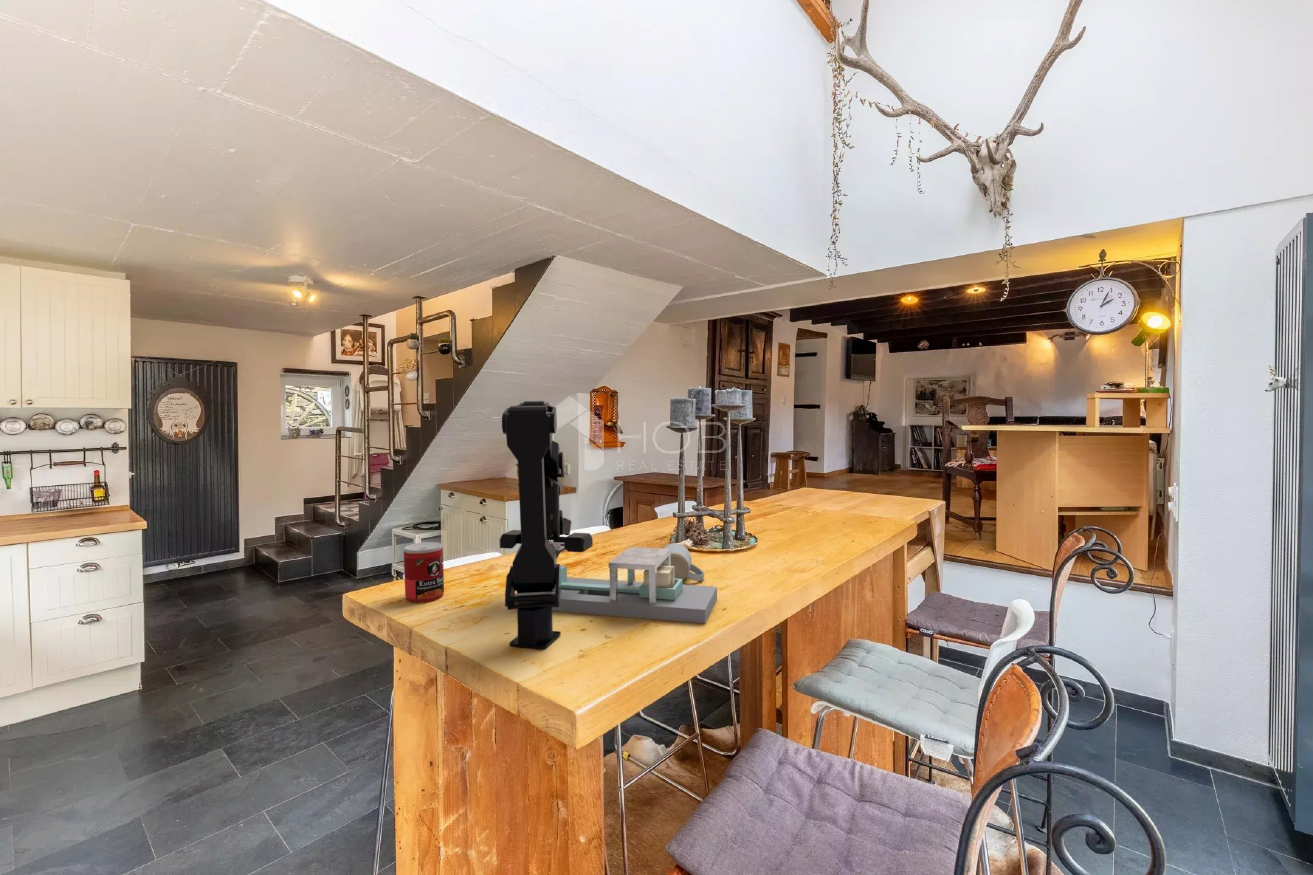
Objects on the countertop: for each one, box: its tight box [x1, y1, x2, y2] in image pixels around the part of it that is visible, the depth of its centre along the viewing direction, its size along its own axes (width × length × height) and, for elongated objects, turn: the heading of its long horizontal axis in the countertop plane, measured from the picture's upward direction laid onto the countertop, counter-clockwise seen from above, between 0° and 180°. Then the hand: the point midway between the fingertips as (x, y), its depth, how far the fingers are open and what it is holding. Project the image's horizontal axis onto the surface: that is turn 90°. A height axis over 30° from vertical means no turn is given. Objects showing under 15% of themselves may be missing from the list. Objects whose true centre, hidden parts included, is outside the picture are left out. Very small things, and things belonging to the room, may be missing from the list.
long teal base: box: [553, 564, 684, 600], centre depth 112 cm, size 7×26×4 cm, turn 75°
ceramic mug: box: [660, 542, 705, 582], centre depth 128 cm, size 11×8×8 cm
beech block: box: [643, 565, 675, 588], centre depth 110 cm, size 5×5×5 cm
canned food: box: [403, 541, 445, 603], centre depth 118 cm, size 8×8×11 cm
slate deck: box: [515, 576, 718, 624], centre depth 112 cm, size 14×38×2 cm, turn 75°
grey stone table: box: [608, 546, 671, 604], centre depth 111 cm, size 13×9×8 cm
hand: (546, 581), depth 116 cm, fingers closed
